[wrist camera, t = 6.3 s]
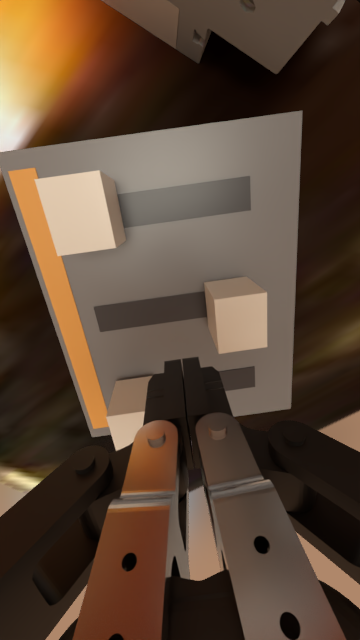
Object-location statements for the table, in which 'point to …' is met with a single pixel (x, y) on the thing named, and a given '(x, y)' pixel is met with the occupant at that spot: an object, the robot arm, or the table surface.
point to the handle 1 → (82, 212)
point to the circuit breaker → (232, 24)
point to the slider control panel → (172, 254)
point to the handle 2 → (127, 410)
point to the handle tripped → (236, 314)
